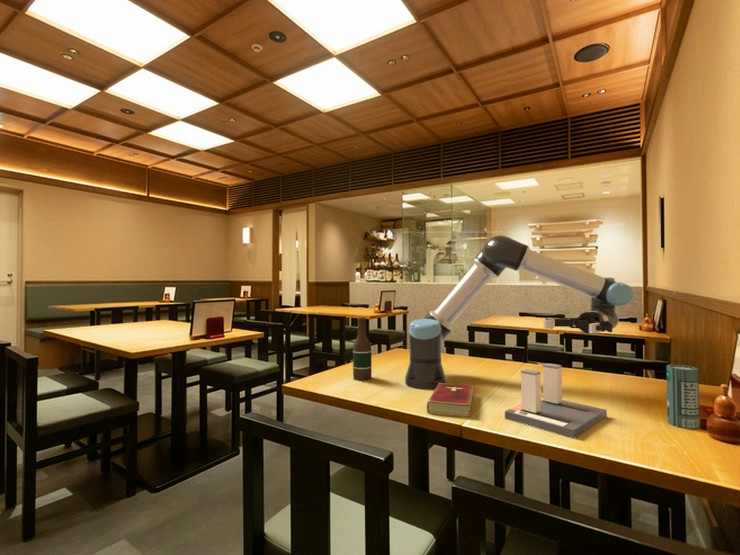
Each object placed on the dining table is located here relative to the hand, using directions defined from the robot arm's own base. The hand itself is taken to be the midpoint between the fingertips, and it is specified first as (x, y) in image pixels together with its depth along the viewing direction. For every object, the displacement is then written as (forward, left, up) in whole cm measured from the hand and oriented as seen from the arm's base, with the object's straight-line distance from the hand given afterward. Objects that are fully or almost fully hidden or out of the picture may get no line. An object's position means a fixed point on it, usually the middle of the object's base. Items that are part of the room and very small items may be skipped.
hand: (566, 326), depth 118 cm
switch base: (-7, -14, -24) cm, 29 cm away
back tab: (-6, -8, -21) cm, 23 cm away
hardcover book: (-35, -7, -24) cm, 43 cm away
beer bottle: (-69, +20, -24) cm, 76 cm away
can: (+24, -14, -24) cm, 37 cm away
